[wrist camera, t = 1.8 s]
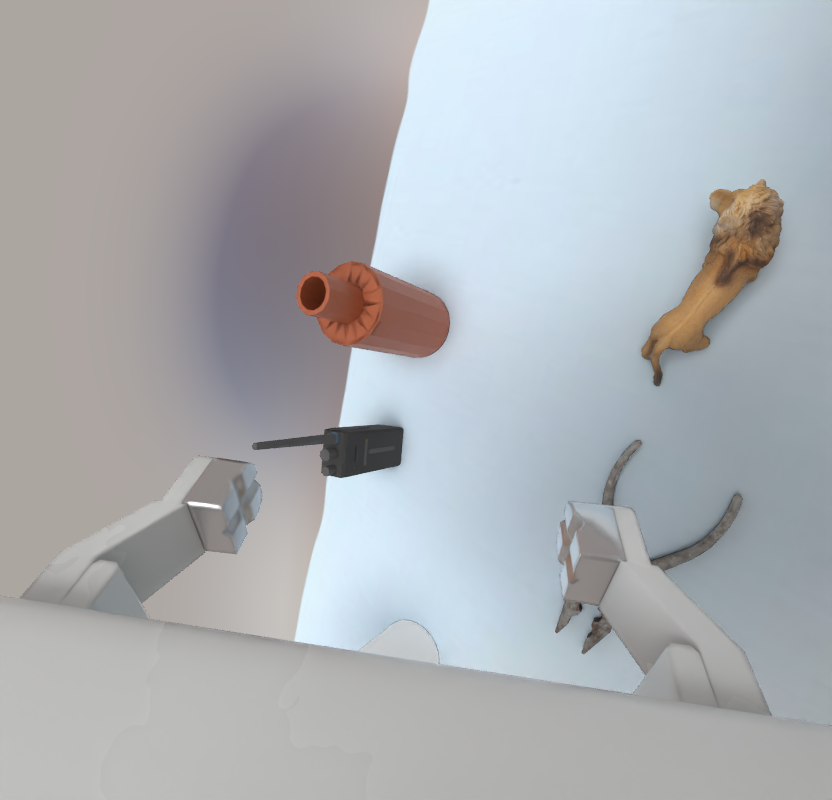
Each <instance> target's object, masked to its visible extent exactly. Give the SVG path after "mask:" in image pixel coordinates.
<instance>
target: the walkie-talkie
mask: <svg viewBox="0 0 832 800" xmlns="http://www.w3.org/2000/svg"><path fill="white" fill-rule="evenodd" d="M402 439H403V429H402V428H399V427H392V426H385V425H367V426H353V427H339V428H330V429H326V430H325V433H324V435H317V436H309V437H301V438H291V439H284V440H275V441H266V442H258V443H253V445H252V447H253V449H254V450H259V449H269V448H280V447H291V446H292V447H293V446H304V445H315V444H324V446H323V450H322V451H321V452H320V457H321V459H322V473H323V475H324V476H329V475H330V476H335V477H339V478H343V477H349V476H354V475H358V474H362V473H367V472H371V471H376V470H381V469H385V468H390V467H395V466H398V465H400V463H401V451H402Z"/></svg>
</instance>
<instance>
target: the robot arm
mask: <svg viewBox="0 0 832 800" xmlns="http://www.w3.org/2000/svg"><path fill="white" fill-rule="evenodd" d="M256 475H257V470H256V466H255V464H253V463H248V462H241V461H235V460H229V459H221V458H213V457H206V456H197V457H195V458H193V459H192V461H191V462H190V463H189V464H188V466H187V467H186V468H185V470H184V471H183V473H182V474H181V475H180V476H179V478H178V479H177V480H176V482H175V483H174V484H173V486H172V487H171V488H170V489H169V491H168V492H167V493H166V495H165V496H164V497H163V499H162V500H161V501H159V500H155V501H153V502H151V503H149V504H148V505H146V506H144V507H142V508H140V509H138V510H137V511H135V512H133V513H131V514H129V515H127V516H125V517H124V518H122V519H120V520H118V521H116V522H115V523H113V524H111V525H109V526H107V527H105V528H104V529H102V530H100V531H98V532H96V533H94V534H92V535H91V536H89V537H87V538H85V539H83V540H81V541H80V542H78V543H76V544H74V545H73V546H70V547H69V548H67V549H65V550H63V551H61V552H60V553H59V554H58V555H57V556H56V557H55V559H54V560H53V561H52V562H51V563H50V564H49V565H48V566H47V568H46V569H45V570H44V571H43V572H42V573H41V574H40V576H39V577H38V578H37V579H36V580H35V581H34V582H33V583H32V585H31V586H30V587H29V588H28V589H27V590H26V591H25V593H24V594H23V595H22V596H21V597H20V598H14V597H7V596H1V595H0V800H832V725H826V724H820V723H813V722H807V721H800V720H794V719H788V718H781V717H775V716H772V715H771V713H770V711H769V708H768V706H767V704H766V701H765V699H764V696H763V694H762V692H761V689H760V687H759V685H758V682H757V680H756V677H755V675H754V673H753V670H752V668H751V665H750V663H749V661H748V658H747V656H746V654H745V652H744V651H743V650H742V649H741V648H740V647H739V646H738V645H737V644H736V643H735V642H734V641H733V640H732V639H731V638H730V637H729V636H728V635H727V634H726V633H725V632H724V631H723V630H722V629H721V628H720V627H719V626H718V625H717V624H716V623H715V622H714V621H713V620H712V619H711V618H710V617H709V616H708V615H707V614H706V613H705V612H704V611H703V610H702V609H701V608H700V607H699V606H698V605H697V604H696V603H695V602H694V601H693V600H692V599H691V598H690V597H689V596H688V595H687V594H686V593H685V592H684V591H683V590H682V589H681V588H680V587H679V586H678V585H677V584H676V583H675V582H674V581H673V580H672V579H671V578H670V577H669V576H668V575H667V574H666V573H665V572H664V571H663V570H662V569H660V568H659V567H658V566H654V565H651V561H650V558H649V555H648V552H647V549H646V546H645V543H644V539H643V536H642V533H641V530H640V527H639V524H638V520H637V517H636V514H635V511H634V510H633V509H632V508H628V507H619V506H609V505H602V504H593V503H584V502H575V501H568V503H567V504H566V507H565V510H564V513H565V520H564V521H562V522H560V525H559V529H558V533H557V542H556V543H557V558H558V560H559V562H560V563H561V564H562V565H563V567H562V570H561V573H560V582H561V589H562V597H563V600H566V601H572V602H578V603H584V604H590V605H596V606H599V607H598V608H599V609H600V611H601V612H602V614H603V615H604V617H605V618H606V620H607V621H608V622H609V624H610V625H611V627H612V628H613V630H614V631H615V632H616V634H617V635H618V637H619V638H620V640H621V641H622V642H623V644H624V645H625V647H626V648H627V650H628V651H629V653H630V654H631V655H632V657H633V658H634V660H635V661H636V663H637V664H638V665H639V667H640V668H641V670H642V671H643V673H644V674H645V678H644V679H643V681H642V682H641V683H640V685H639V686H638V687H637V689H636V690H635V692H634V693H633V694H628V693H621V692H615V691H608V690H602V689H596V688H589V687H583V686H576V685H570V684H564V683H557V682H551V681H544V680H538V679H531V678H525V677H519V676H512V675H506V674H500V673H493V672H487V671H480V670H474V669H468V668H461V667H455V666H448V665H442V664H436V663H429V662H423V661H417V660H410V659H404V658H397V657H391V656H385V655H378V654H372V653H365V652H359V651H352V650H346V649H340V648H333V647H327V646H320V645H314V644H307V643H301V642H294V641H288V640H281V639H275V638H268V637H262V636H255V635H249V634H243V633H237V632H230V631H224V630H218V629H211V628H204V627H198V626H192V625H185V624H179V623H173V622H166V621H160V620H154V619H150V617H149V615H148V613H147V612H146V610H145V609H144V607H143V605H142V603H143V602H144V601H145V600H146V599H148V598H149V597H150V596H151V595H153V594H154V593H155V592H156V591H158V590H159V589H160V588H161V587H163V586H164V585H165V584H166V583H168V582H169V581H170V580H171V579H173V578H174V577H175V576H176V575H178V574H179V573H180V572H181V571H183V570H184V569H185V568H186V567H188V566H189V565H190V564H192V563H193V562H194V561H195V560H196V559H198V558H199V557H200V556H202V555H203V554H204V553H205V551H213V552H221V553H230V554H237V552H238V550H239V549H240V547H241V545H242V543H243V541H244V539H245V537H246V535H247V529H246V525H247V524H249V523H250V522H252V521H253V520H255V517H256V516H257V514H258V512H259V509H260V505H261V501H262V490H261V485H260V484H259V483H258V482H257V481H256V480H255V479H254V478H255V477H256Z"/></svg>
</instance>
